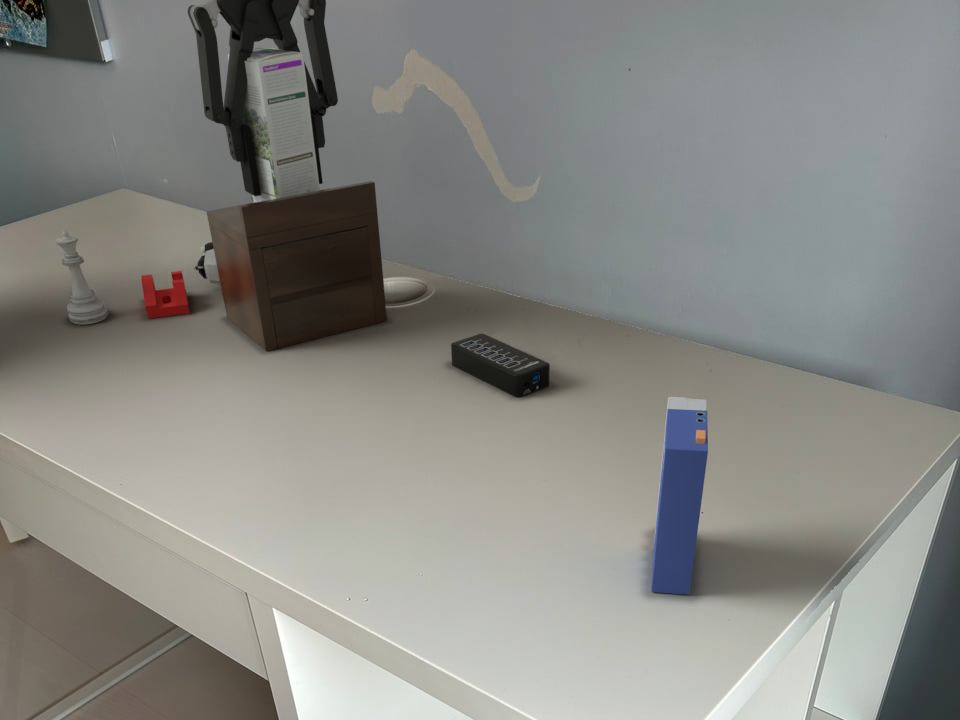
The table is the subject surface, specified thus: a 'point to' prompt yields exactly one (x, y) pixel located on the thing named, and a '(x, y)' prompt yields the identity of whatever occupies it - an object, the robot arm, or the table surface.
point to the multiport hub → (500, 365)
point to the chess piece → (80, 287)
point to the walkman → (680, 494)
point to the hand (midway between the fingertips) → (284, 186)
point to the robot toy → (208, 264)
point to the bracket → (165, 297)
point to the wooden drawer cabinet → (301, 264)
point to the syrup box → (280, 123)
